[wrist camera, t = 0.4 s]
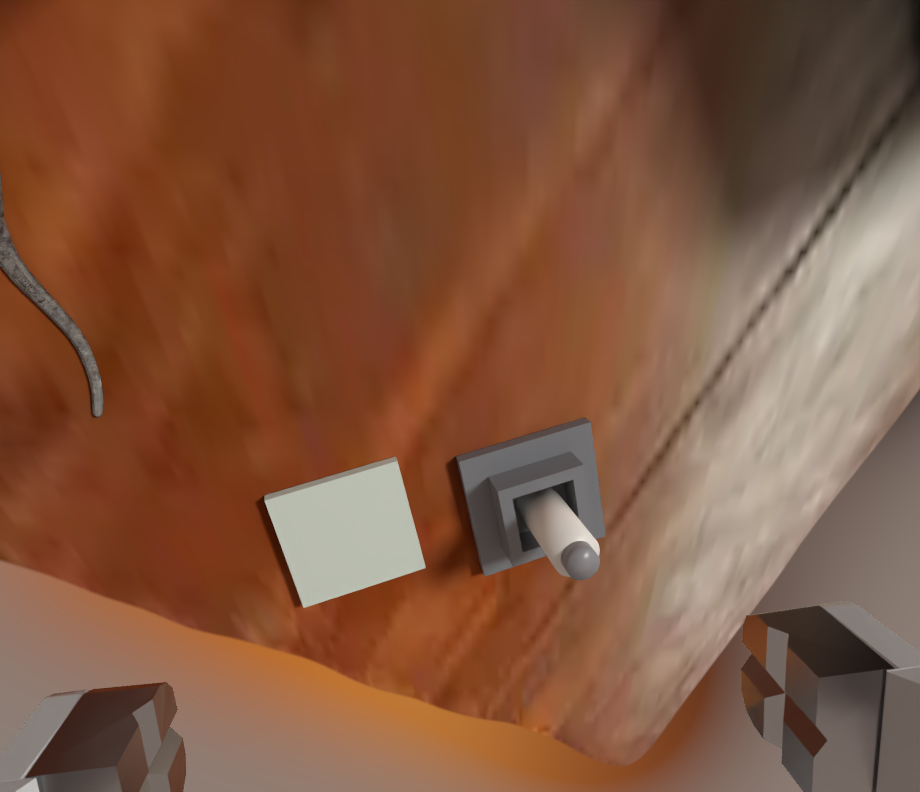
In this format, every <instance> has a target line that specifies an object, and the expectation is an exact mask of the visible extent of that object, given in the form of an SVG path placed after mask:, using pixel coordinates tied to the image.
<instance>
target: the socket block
mask: <svg viewBox="0 0 920 792" xmlns="http://www.w3.org/2000/svg"><path fill="white" fill-rule="evenodd" d="M456 460H457V465H458V469H459V473H460V478H461V482H462V487H463V491H464V496H465V500H466V504H467V509H468V513H469V518H470V522H471V527H472V531H473V535H474V540H475V544H476V549H477V553H478V557H479V562H480V566H481V570H482V572H483V574H484V576H487V575H490V574H493V573H496V572H499V571H502V570H505V569H508V568H511V567H514V566H517V565H520V564H523V563H526V562H529V561H532V560H535V559H538V558H541V557H544V556H547V555H546V554H545V552H544V551H543V549H542V548H541V546H540V545H539V543H538V542H537V540H536V539H535V537H534V536H533V534H532V533H531V531H530V530H529V528H528V527H527V525H526V524H525V522H524V521H523V519H522V518H521V516H520V515H519V513H518V511H517V509H516V500H517V497H520V496H523V495H526V494H530V493H533V492H536V491H539V490H542V489H545V488H549V487H553V488H554V489H555V490H556V492H557V493H558V494H559V495H560V496H561V498H562V499H563V500H564V501H565V503H566V504H567V505H568V506H569V508H570V509H571V510H572V511H573V512H574V514H575V515H576V516H577V517H578V519H579V520H580V521H581V522H582V523H583V525H584V526H585V527H586V528H587V530H588V531H589V532H590V533H591V534H592V536H593V537H594V538H595V539H598V538H601V537H604V536H606V534H605V526H604V519H603V511H602V504H601V496H600V489H599V481H598V474H597V466H596V459H595V451H594V444H593V436H592V429H591V422H590V421H589V420H588V419H587V418H582V419H578V420H575V421H572V422H569V423H565V424H562V425H559V426H555V427H552V428H549V429H545V430H542V431H539V432H535V433H532V434H529V435H526V436H522V437H519V438H516V439H512V440H509V441H506V442H502V443H499V444H496V445H492V446H489V447H486V448H482V449H479V450H476V451H473V452H469V453H466V454H463V455H459V456H456Z"/></svg>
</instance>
